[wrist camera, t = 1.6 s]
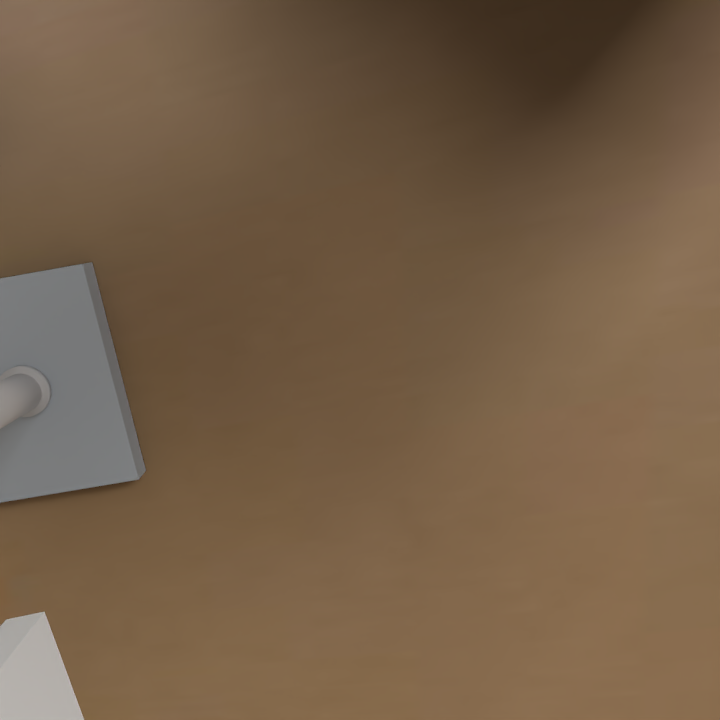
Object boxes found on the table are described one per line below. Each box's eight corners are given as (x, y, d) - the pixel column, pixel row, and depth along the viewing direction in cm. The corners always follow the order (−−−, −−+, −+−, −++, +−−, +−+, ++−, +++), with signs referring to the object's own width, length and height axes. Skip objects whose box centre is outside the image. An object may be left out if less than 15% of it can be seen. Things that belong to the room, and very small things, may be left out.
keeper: (-79, 292, 42) (-172, 309, 34) (92, 262, 41) (35, 272, 34) (-14, 497, 45) (-87, 553, 37) (145, 470, 44) (104, 521, 37)
